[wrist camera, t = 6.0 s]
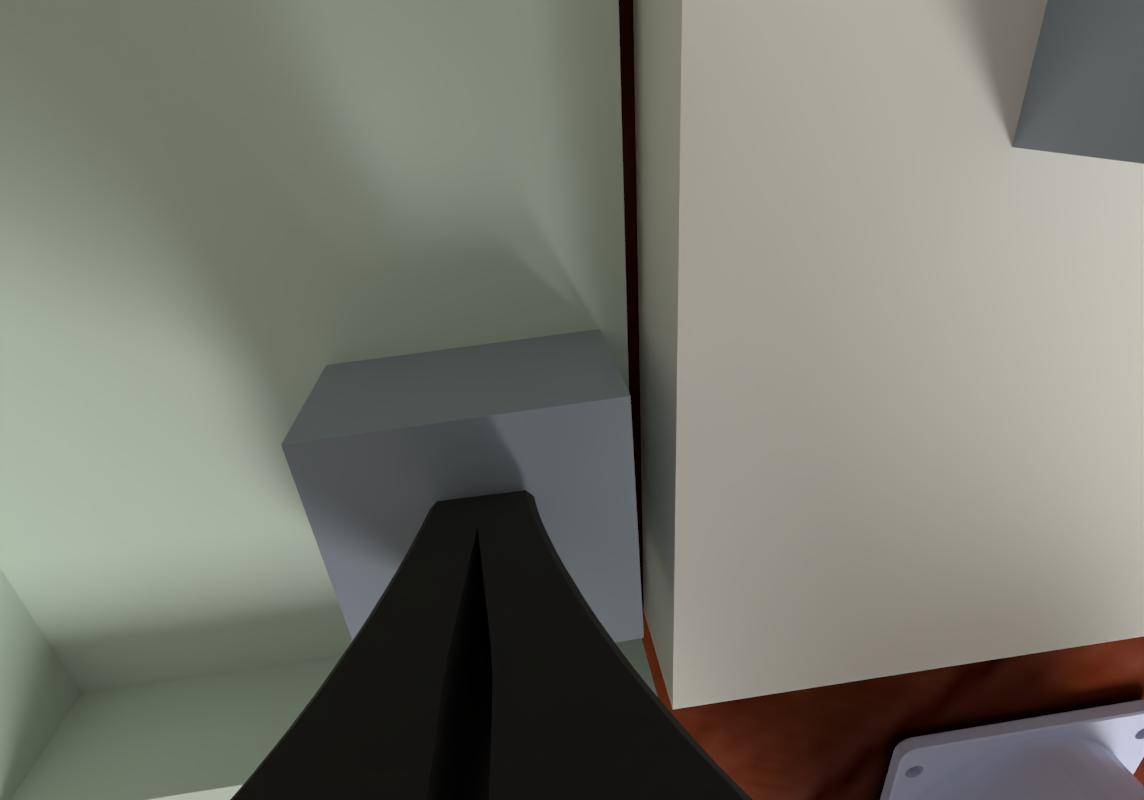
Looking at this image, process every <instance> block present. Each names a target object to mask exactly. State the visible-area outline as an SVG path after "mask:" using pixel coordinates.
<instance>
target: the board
mask: <svg viewBox="0 0 1144 800" xmlns="http://www.w3.org/2000/svg"><path fill="white" fill-rule="evenodd" d="M1047 1H1048V0H633V30H634V87H635V144H636V201H637V258H638V315H639V372H640V429H641V486H642V543H643V601H644V614H645V618H646V621H647V625H648V628H649V631H650V635H651V638H652V641H653V645H654V648H655V652H656V655H657V658H658V662H659V665H660V669H661V672H662V675H663V679H664V682H665V685H666V689H667V692H668V696H669V699H670V702H671V706H672V709H680V708H686V707H693V706H699V705H705V704H712V703H718V702H725V701H731V700H738V699H744V698H750V697H757V696H763V695H770V694H776V693H783V692H789V691H795V690H802V689H808V688H815V687H821V686H828V685H834V684H840V683H847V682H853V681H860V680H866V679H873V678H879V677H885V676H892V675H898V674H905V673H911V672H918V671H924V670H930V669H937V668H943V667H950V666H956V665H963V664H969V663H975V662H982V661H988V660H995V659H1001V658H1007V657H1014V656H1020V655H1027V654H1033V653H1040V652H1046V651H1052V650H1059V649H1065V648H1072V647H1078V646H1085V645H1091V644H1097V643H1104V642H1110V641H1117V640H1123V639H1130V638H1136V637H1142V636H1144V164H1142V163H1134V162H1126V161H1118V160H1110V159H1102V158H1094V157H1086V156H1078V155H1071V154H1063V153H1055V152H1047V151H1039V150H1031V149H1023V148H1015V147H1012V145H1013V141H1014V137H1015V133H1016V129H1017V124H1018V120H1019V116H1020V112H1021V108H1022V104H1023V100H1024V96H1025V91H1026V87H1027V83H1028V79H1029V75H1030V71H1031V67H1032V63H1033V59H1034V54H1035V50H1036V46H1037V42H1038V38H1039V34H1040V30H1041V26H1042V22H1043V17H1044V13H1045V9H1046V5H1047Z"/></svg>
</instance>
